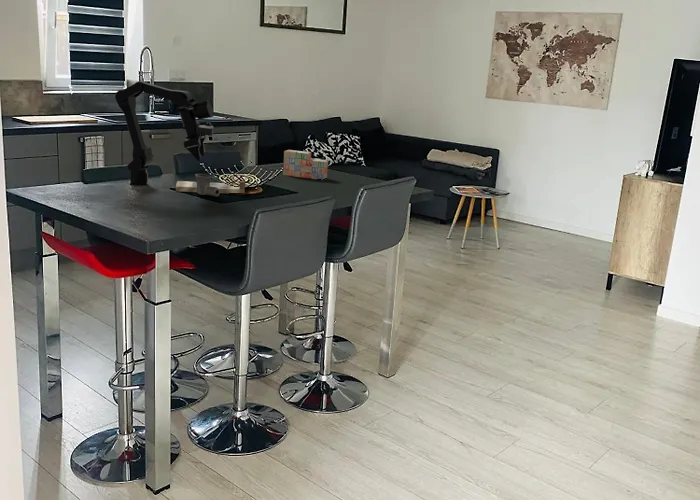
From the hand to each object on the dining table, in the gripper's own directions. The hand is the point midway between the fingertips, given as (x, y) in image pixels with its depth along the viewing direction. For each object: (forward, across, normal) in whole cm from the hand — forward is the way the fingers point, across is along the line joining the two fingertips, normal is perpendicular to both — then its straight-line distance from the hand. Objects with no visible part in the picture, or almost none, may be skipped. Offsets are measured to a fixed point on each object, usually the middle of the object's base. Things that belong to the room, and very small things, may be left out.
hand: (201, 158), depth 289 cm
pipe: (+13, -12, 0) cm, 18 cm away
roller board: (+14, 0, 0) cm, 14 cm away
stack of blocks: (+31, +50, -35) cm, 69 cm away
